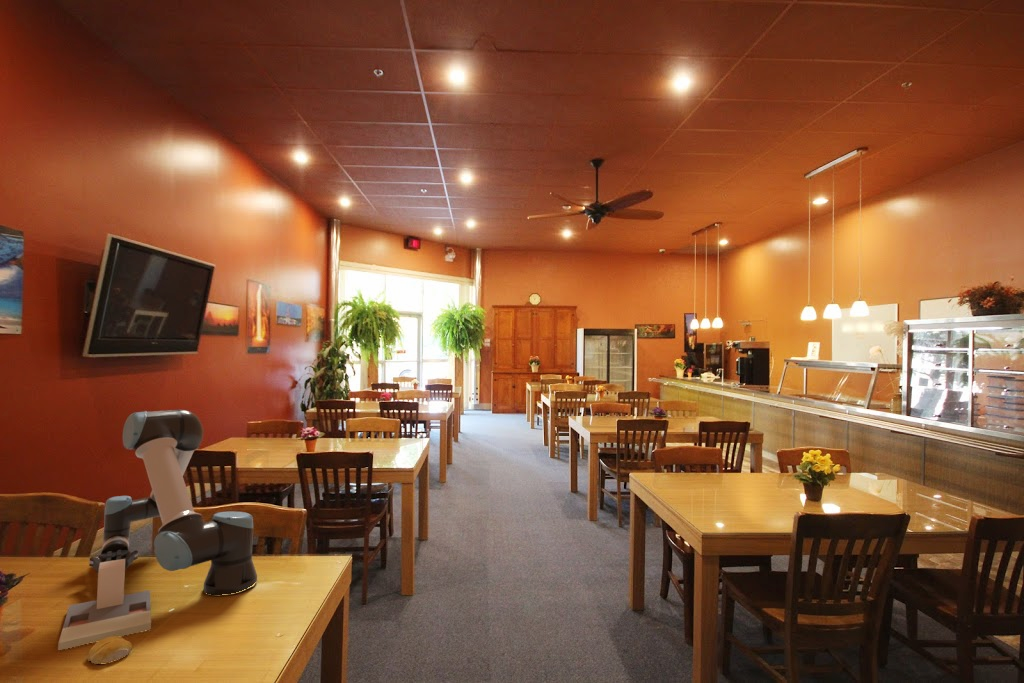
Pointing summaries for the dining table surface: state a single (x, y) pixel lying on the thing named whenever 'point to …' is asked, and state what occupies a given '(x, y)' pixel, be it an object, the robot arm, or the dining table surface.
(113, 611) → the board
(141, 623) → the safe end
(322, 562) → the dining table surface
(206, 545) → the robot arm
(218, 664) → the dining table surface
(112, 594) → the cream block
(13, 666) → the dining table surface
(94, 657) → the bread roll
